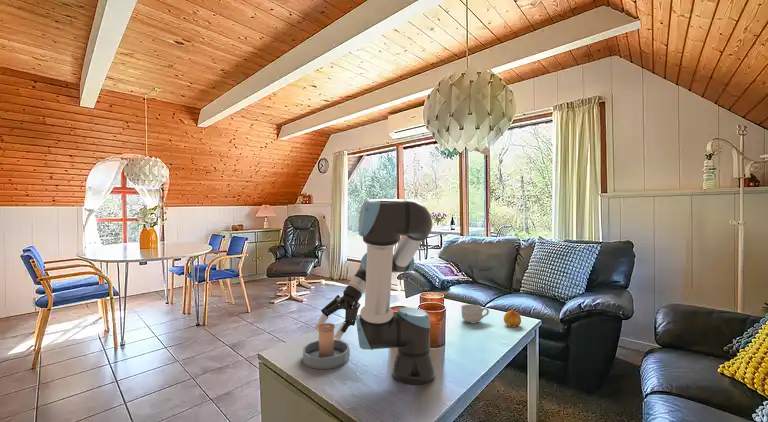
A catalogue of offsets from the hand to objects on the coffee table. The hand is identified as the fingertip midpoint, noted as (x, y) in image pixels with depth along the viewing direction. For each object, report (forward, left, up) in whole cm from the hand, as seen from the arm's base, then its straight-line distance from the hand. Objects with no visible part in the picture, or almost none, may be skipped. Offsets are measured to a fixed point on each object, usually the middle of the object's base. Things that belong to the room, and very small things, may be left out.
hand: (325, 334), depth 138 cm
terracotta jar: (0, 0, -9) cm, 9 cm away
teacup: (-17, -81, -10) cm, 83 cm away
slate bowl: (0, 0, -10) cm, 10 cm away
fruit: (-33, -90, -10) cm, 96 cm away
